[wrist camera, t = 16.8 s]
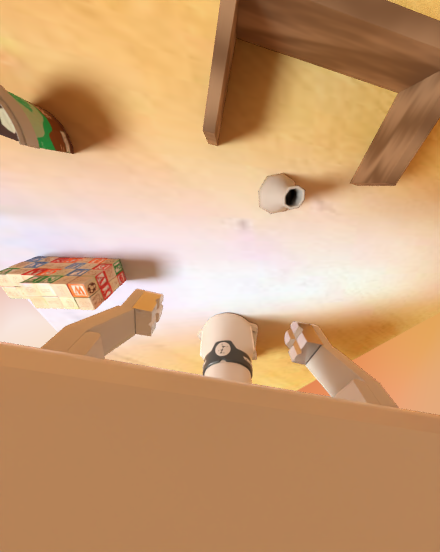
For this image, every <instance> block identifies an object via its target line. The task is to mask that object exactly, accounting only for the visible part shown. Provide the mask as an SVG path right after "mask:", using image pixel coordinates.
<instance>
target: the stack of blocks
mask: <svg viewBox="0 0 440 552" xmlns="http://www.w3.org/2000/svg"><path fill="white" fill-rule="evenodd" d="M125 281H126V278H125V275H124V272H123V269H122V266H121V262H120V259H107V258H60V257H34V258H32V259H29V260H26V261H24V262H21V263H18V264H16V265H13V266H10V267H9V268H7V269H4V270H2V271H0V286H1V287H2V288H3V289H4V291H5V292H6V293H7V295H8V296H9V298H23V299H30V300H31V301H32V303H33V304H34V306H35V307H36V308H59V309H64V308H65V309H82V310H95V309H96V308H97V307H98V306H99V305H100V304H101V303H102V302H103V301H105V300H106V299H107V298H108V297H109V296H110V295H111V294H112V293H113V292H114V291H115V290H116V289H117V288H118V287H119V286H121V285H122V284H123V283H124V282H125Z"/></svg>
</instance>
